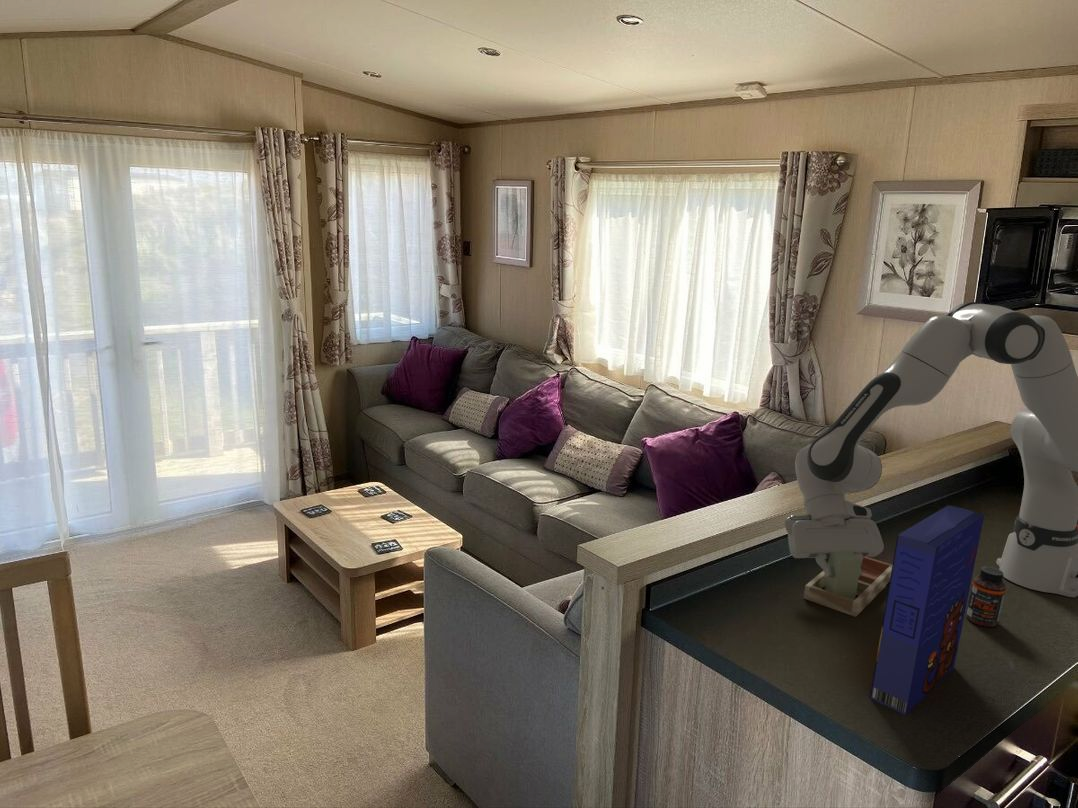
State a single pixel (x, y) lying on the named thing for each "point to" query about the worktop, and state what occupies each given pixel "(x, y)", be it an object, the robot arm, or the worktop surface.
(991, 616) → the supplement bottle
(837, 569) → the sage peg
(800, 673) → the worktop surface
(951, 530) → the cereal box
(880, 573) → the two-socket holder
